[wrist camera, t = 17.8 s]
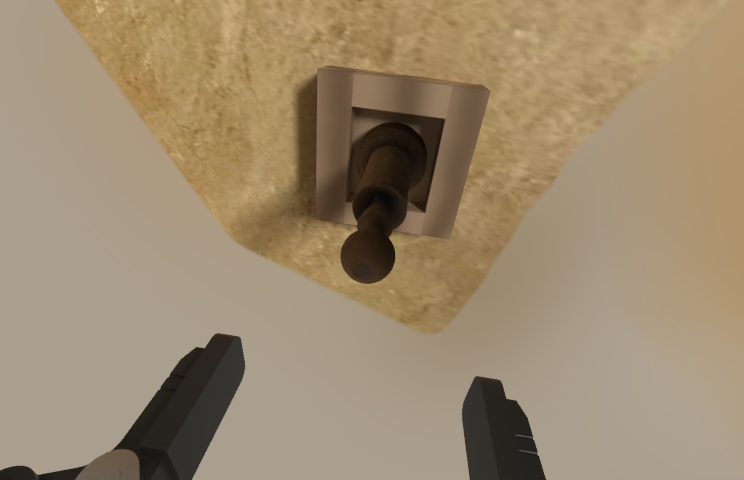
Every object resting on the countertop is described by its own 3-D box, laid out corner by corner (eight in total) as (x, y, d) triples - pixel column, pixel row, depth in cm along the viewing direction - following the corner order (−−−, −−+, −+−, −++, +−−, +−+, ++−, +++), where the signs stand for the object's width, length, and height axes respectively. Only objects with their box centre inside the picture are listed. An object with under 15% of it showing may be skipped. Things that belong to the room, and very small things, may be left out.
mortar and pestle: (369, 191, 34) (326, 320, 19) (350, 131, 31) (281, 229, 16) (432, 179, 32) (438, 309, 18) (419, 113, 29) (413, 205, 14)
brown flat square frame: (326, 201, 37) (315, 219, 34) (329, 65, 30) (317, 68, 26) (446, 218, 37) (449, 239, 33) (481, 84, 29) (490, 91, 26)
